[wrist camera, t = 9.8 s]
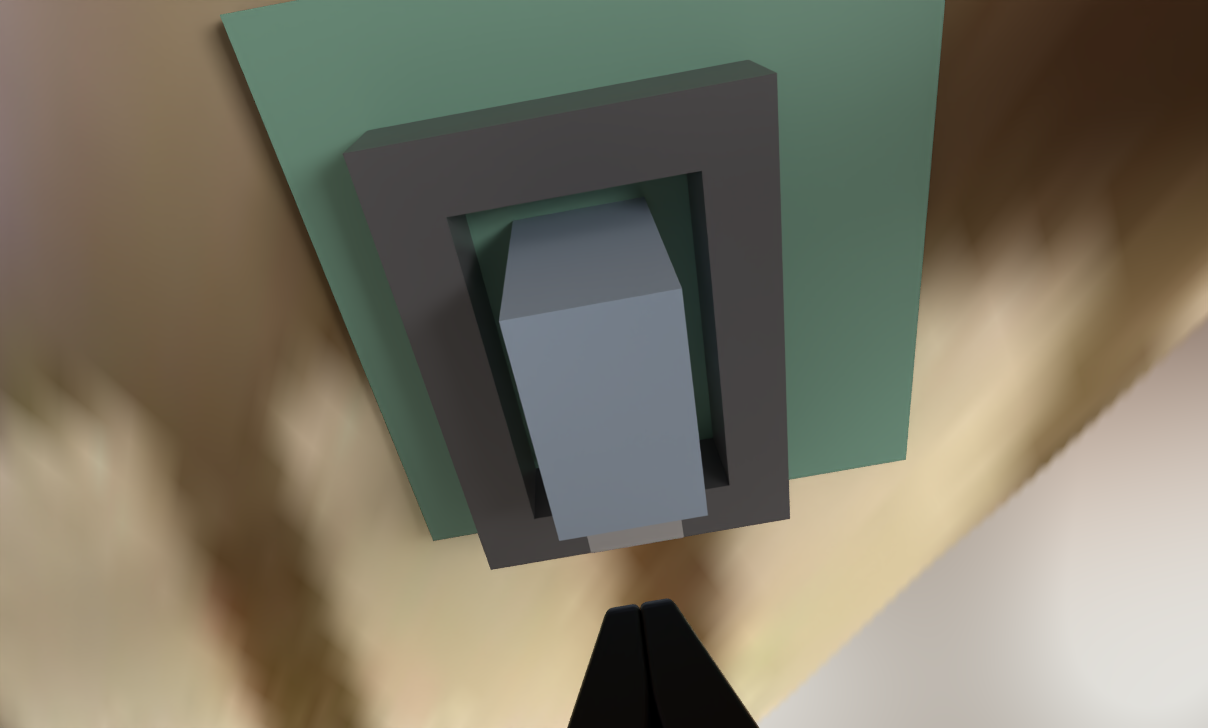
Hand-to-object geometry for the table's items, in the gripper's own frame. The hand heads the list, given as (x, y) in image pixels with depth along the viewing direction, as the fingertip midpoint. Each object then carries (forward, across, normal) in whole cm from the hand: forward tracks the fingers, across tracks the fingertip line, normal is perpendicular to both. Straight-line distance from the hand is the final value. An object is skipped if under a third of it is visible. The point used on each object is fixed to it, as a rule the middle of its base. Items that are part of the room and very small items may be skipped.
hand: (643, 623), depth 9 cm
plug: (+9, 0, 0) cm, 9 cm away
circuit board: (+10, -1, 0) cm, 10 cm away
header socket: (+10, 0, 0) cm, 10 cm away
